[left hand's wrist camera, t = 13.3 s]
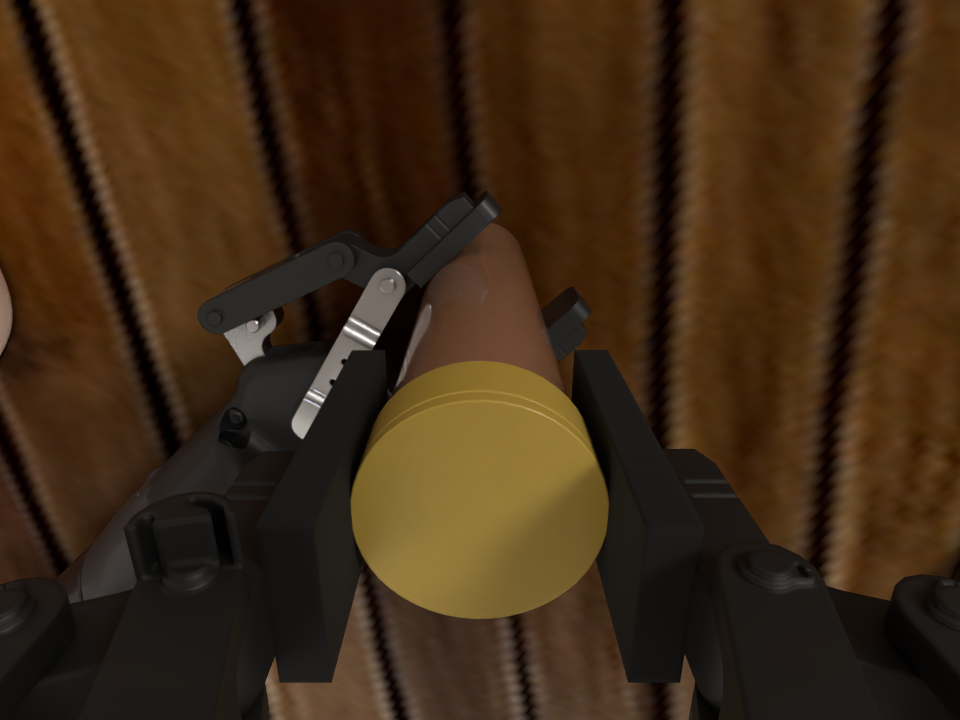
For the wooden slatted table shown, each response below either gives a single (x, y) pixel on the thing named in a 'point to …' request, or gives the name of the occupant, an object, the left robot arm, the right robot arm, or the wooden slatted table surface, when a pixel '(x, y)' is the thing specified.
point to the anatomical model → (4, 313)
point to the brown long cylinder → (481, 313)
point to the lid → (479, 492)
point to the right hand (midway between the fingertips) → (536, 252)
